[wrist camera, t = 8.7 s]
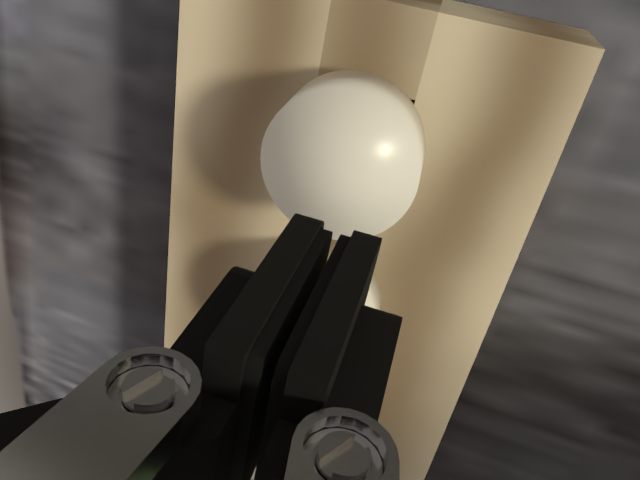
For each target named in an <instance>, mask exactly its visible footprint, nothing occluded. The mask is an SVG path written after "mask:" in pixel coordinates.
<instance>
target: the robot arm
mask: <svg viewBox="0 0 640 480" xmlns="http://www.w3.org/2000/svg"><path fill="white" fill-rule="evenodd" d="M332 234H333V232H332V231H329V230H325V229H324V221H322V220H318V219H315V218H311V217H308V216H304V215H301V214H297V213H295V214H294V215H293V217H292V218H291V220H290V221H289V223H288V224H287V226H286V227H285V228H284V230H283V231H282V233H281V234H280V236H279V237H278V239H277V240H276V242H275V243H274V244H273V246H272V247H271V249H270V250H269V252H268V253H267V255H266V256H265V258H264V259H263V260H262V262H261V263H260V265H259V266H258V268H257V269H256V271H255V272H254V271H251V270H248V269H244V268H241V267H238V266H235V267H232V268H231V269H230V270H229V272H228V273H227V274H226V276H225V277H224V278H223V279H222V281H221V282H220V283H219V285H218V286H217V287H216V289H215V290H214V291H213V293H212V294H211V295H210V297H209V298H208V299H207V300H206V302H205V303H204V304H203V306H202V307H201V308H200V310H199V311H198V312H197V314H196V315H195V316H194V318H193V319H192V320H191V321H190V323H189V324H188V325H187V327H186V328H185V329H184V331H183V332H182V333H181V335H180V336H179V337H178V338H177V340H176V341H175V342H174V344H173V345H172V346H171V348H170V349H169V348H166V347H155V346H147V347H138V348H133V349H130V350H127V351H124V352H121V353H119V354H117V355H116V356H114V357H113V358H111V359H110V360H108V361H107V362H105V363H104V364H103V365H102V366H101V367H99V368H98V369H97V370H96V371H95V372H94V373H92V374H91V375H90V376H89V377H88V378H86V379H85V380H84V381H83V382H82V383H81V384H79V385H78V386H77V387H76V388H75V389H74V390H72V391H71V392H70V393H69V394H68V395H66V396H65V397H64V398H61V399H57V400H53V401H49V402H45V403H41V404H37V405H33V406H29V407H25V408H21V409H17V410H13V411H9V412H5V413H1V414H0V480H251V477H252V475H253V473H254V470H255V468H256V471H255V476H254V480H400V461H399V455H398V450H397V446H396V444H395V442H394V441H393V439H392V437H391V435H390V433H389V432H388V431H387V430H386V429H385V428H384V427H383V426H382V425H381V424H380V423H379V422H378V419H379V415H380V411H381V407H382V403H383V399H384V394H385V390H386V386H387V382H388V378H389V374H390V369H391V365H392V361H393V357H394V353H395V349H396V344H397V340H398V336H399V332H400V328H401V323H402V319H403V317H401V316H398V315H395V314H391V313H388V312H385V311H381V310H378V309H375V308H372V307H368V306H365V302H366V298H367V294H368V291H369V287H370V283H371V280H372V276H373V272H374V269H375V265H376V261H377V258H378V254H379V250H380V246H381V242H382V238H380V237H377V236H374V235H370V234H367V233H363V232H360V231H356V230H354V231H353V233H352V235H351V237H349V236H346V235H342V234H341V235H340V236H339V238H338V240H337V242H336V244H335V246H334V248H333V250H332V252H331V254H330V256H329V258H328V254H329V250H330V245H331V240H332ZM327 259H328V260H327Z"/></svg>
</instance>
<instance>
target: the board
mask: <svg viewBox="0 0 640 480" xmlns="http://www.w3.org/2000/svg"><path fill="white" fill-rule="evenodd" d="M604 51H605V49H604V48H603V47H602V46H601V45H600V44H599V43H598V42H597V41H596V39H595V38H594V37H593V36H592V35H591V34H590V33H589V32H588V31H587V30H584V29H580V28H575V27H571V26H566V25H562V24H557V23H553V22H548V21H544V20H539V19H535V18H530V17H526V16H521V15H517V14H512V13H508V12H503V11H499V10H494V9H490V8H485V7H481V6H476V5H472V4H467V3H463V2H458V1H454V0H180V10H179V31H178V53H177V75H176V96H175V118H174V140H173V162H172V183H171V205H170V227H169V249H168V270H167V292H166V314H165V336H164V347H166V348H169V349H170V348H171V346H172V345H173V344H174V342H175V341H176V340H177V338H178V337H179V336H180V335H181V333H182V332H183V331H184V329H185V328H186V327H187V325H188V324H189V323H190V321H191V320H192V319H193V318H194V316H195V315H196V314H197V312H198V311H199V310H200V308H201V307H202V306H203V304H204V303H205V302H206V300H207V299H208V298H209V297H210V295H211V294H212V293H213V291H214V290H215V289H216V287H217V286H218V285H219V283H220V282H221V281H222V279H223V278H224V277H225V276H226V274H227V273H228V272H229V270H230V269H231V268H232V267H235V266H238V267H241V268H244V269H248V270H251V271H254V272H255V271H256V269H257V268H258V266H259V265H260V263H261V262H262V260H263V259H264V258H265V256H266V255H267V253H268V252H269V250H270V249H271V247H272V246H273V244H274V243H275V242H276V240H277V239H278V237H279V236H280V234H281V233H282V231H283V230H284V228H285V227H286V226H287V224H288V223H289V221H290V219H288V218H287V217H286V216H285V215H284V214H283V213H282V212H281V211H280V209H279V208H278V207H277V206H276V204H275V203H274V201H273V200H272V198H271V197H270V195H269V193H268V190H267V188H266V186H265V183H264V180H263V176H262V171H261V162H260V155H261V146H262V141H263V138H264V135H265V132H266V130H267V128H268V126H269V124H270V122H271V121H272V119H273V118H274V116H275V115H276V114H277V113H278V112H279V111H280V110H281V109H282V107H283V106H284V105H285V104H286V103H287V102H288V101H289V100H290V99H291V98H292V97H293V96H294V95H295V94H296V93H297V92H298V91H299V90H300V89H301V88H302V87H303V86H304V85H306V84H307V83H308V82H309V81H311V80H313V79H315V78H316V77H318V76H321V75H323V74H326V73H329V72H333V71H337V70H360V71H366V72H370V73H373V74H376V75H379V76H381V77H383V78H385V79H387V80H388V81H390V82H392V83H393V84H395V85H396V86H397V87H398V88H400V89H401V90H402V91H403V92H404V93H405V94H406V95H407V96H408V97H409V99H412V100H415V103H414V106H415V107H416V109H417V111H418V113H419V115H420V118H421V120H422V123H423V127H424V132H425V141H426V147H425V156H424V161H423V166H422V171H421V176H420V181H419V186H418V190H417V193H416V195H415V198H414V200H413V202H412V204H411V206H410V208H409V209H408V210H407V212H406V213H405V214H404V216H403V217H402V218H401V219H400V220H399V221H398V222H397V223H395V224H394V225H393V226H391V227H390V228H388V229H387V230H385V231H383V232H381V233H379V234H377V235H374V236H377V237H380V238H382V242H381V246H380V250H379V254H378V258H377V261H376V265H375V269H374V272H373V275H374V276H375V278H376V280H377V283H378V285H379V289H380V294H381V306H380V310H381V311H385V312H388V313H391V314H395V315H398V316H401V317H403V319H402V323H401V328H400V332H399V336H398V340H397V344H396V349H395V353H394V357H393V361H392V365H391V369H390V374H389V378H388V382H387V386H386V390H385V394H384V399H383V403H382V407H381V411H380V415H379V419H378V422H379V423H380V424H381V425H382V426H383V427H384V428H385V429H386V430H387V431H388V432H389V433H390V435H391V437H392V439H393V441H394V442H395V444H396V446H397V450H398V455H399V461H400V480H424V479H425V477H426V474H427V472H428V469H429V467H430V465H431V462H432V460H433V458H434V455H435V453H436V450H437V448H438V446H439V443H440V441H441V439H442V436H443V434H444V431H445V429H446V427H447V424H448V422H449V420H450V417H451V415H452V412H453V410H454V408H455V405H456V403H457V401H458V398H459V396H460V393H461V391H462V389H463V386H464V384H465V382H466V379H467V377H468V374H469V372H470V370H471V367H472V365H473V363H474V360H475V358H476V355H477V353H478V351H479V348H480V346H481V343H482V341H483V339H484V336H485V334H486V332H487V329H488V327H489V324H490V322H491V320H492V317H493V315H494V313H495V310H496V308H497V305H498V303H499V301H500V298H501V296H502V294H503V291H504V289H505V286H506V284H507V282H508V279H509V277H510V275H511V272H512V270H513V267H514V265H515V263H516V260H517V258H518V256H519V253H520V251H521V248H522V246H523V244H524V241H525V239H526V237H527V234H528V232H529V229H530V227H531V225H532V222H533V220H534V217H535V215H536V213H537V210H538V208H539V206H540V203H541V201H542V198H543V196H544V194H545V191H546V189H547V187H548V184H549V182H550V179H551V177H552V175H553V172H554V170H555V168H556V165H557V163H558V160H559V158H560V156H561V153H562V151H563V149H564V146H565V144H566V141H567V139H568V137H569V134H570V132H571V130H572V127H573V125H574V122H575V120H576V118H577V115H578V113H579V111H580V108H581V106H582V103H583V101H584V99H585V96H586V94H587V91H588V89H589V87H590V84H591V82H592V80H593V77H594V75H595V72H596V70H597V68H598V65H599V63H600V61H601V58H602V56H603V53H604ZM336 242H337V240H333V239H332V240H331V244H334V245H335V244H336Z"/></svg>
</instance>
